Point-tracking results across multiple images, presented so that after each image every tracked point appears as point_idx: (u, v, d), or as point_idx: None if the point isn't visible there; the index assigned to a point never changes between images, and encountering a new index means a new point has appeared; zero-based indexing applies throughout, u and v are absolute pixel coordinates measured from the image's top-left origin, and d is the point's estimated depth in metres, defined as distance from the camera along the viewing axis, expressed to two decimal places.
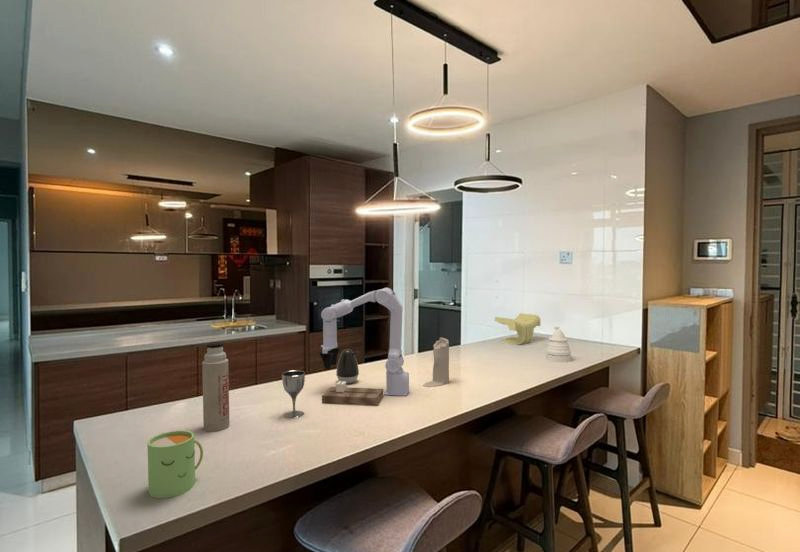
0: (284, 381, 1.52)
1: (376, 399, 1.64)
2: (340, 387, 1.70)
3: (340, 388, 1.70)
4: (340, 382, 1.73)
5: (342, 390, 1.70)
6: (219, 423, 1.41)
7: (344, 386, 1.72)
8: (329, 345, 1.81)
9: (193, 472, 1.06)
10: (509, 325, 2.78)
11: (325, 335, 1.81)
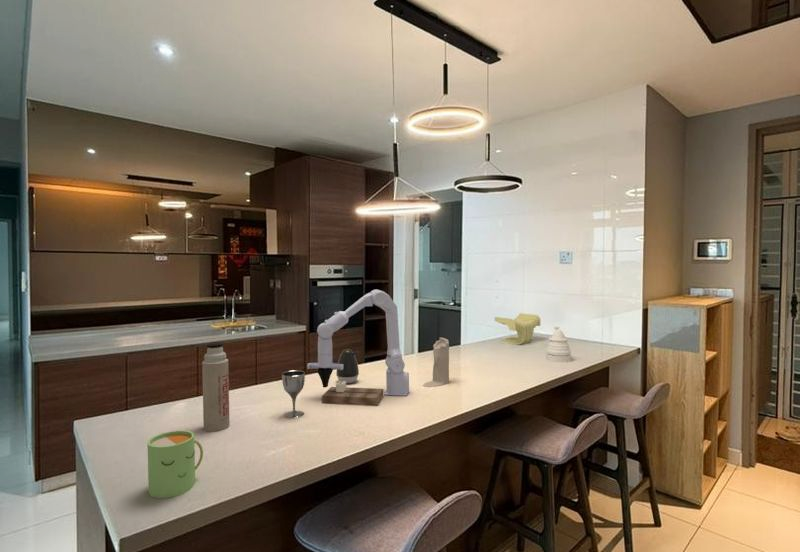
0: (284, 381, 1.52)
1: (376, 399, 1.64)
2: (340, 387, 1.70)
3: (340, 388, 1.70)
4: (340, 382, 1.73)
5: (342, 390, 1.70)
6: (219, 423, 1.41)
7: (344, 386, 1.72)
8: (318, 362, 1.73)
9: (193, 472, 1.06)
10: (509, 325, 2.78)
11: (322, 353, 1.70)
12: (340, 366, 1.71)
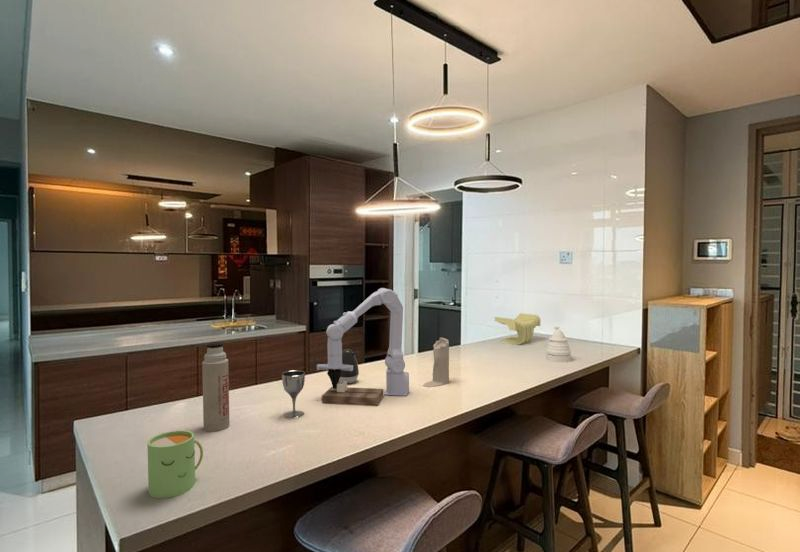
0: (284, 381, 1.52)
1: (376, 399, 1.64)
2: (340, 387, 1.70)
3: (341, 388, 1.70)
4: (341, 382, 1.73)
5: (343, 390, 1.70)
6: (219, 423, 1.41)
7: (345, 386, 1.72)
8: (327, 364, 1.72)
9: (193, 472, 1.06)
10: (509, 325, 2.78)
11: (332, 355, 1.70)
12: (350, 367, 1.71)
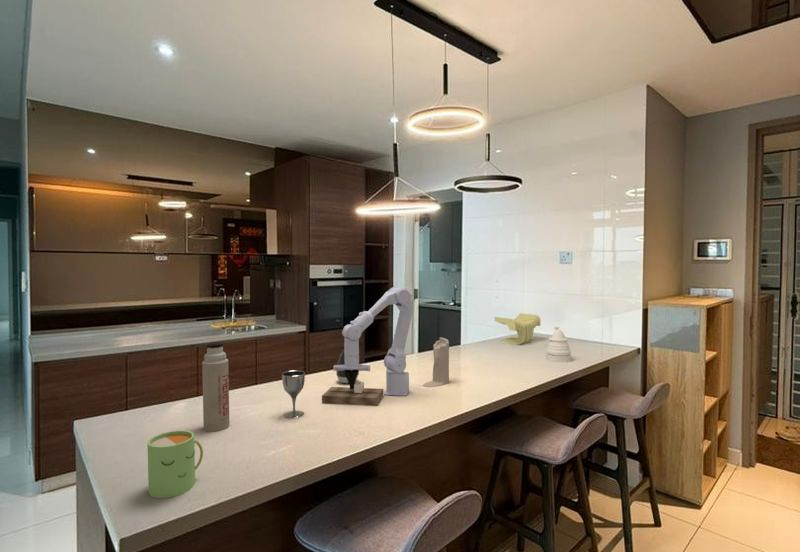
0: (284, 381, 1.52)
1: (376, 399, 1.64)
2: (358, 388, 1.69)
3: (358, 389, 1.69)
4: (358, 383, 1.72)
5: (360, 391, 1.69)
6: (219, 423, 1.41)
7: (362, 387, 1.71)
8: None
9: (193, 472, 1.06)
10: (509, 325, 2.78)
11: (351, 355, 1.68)
12: (368, 367, 1.70)
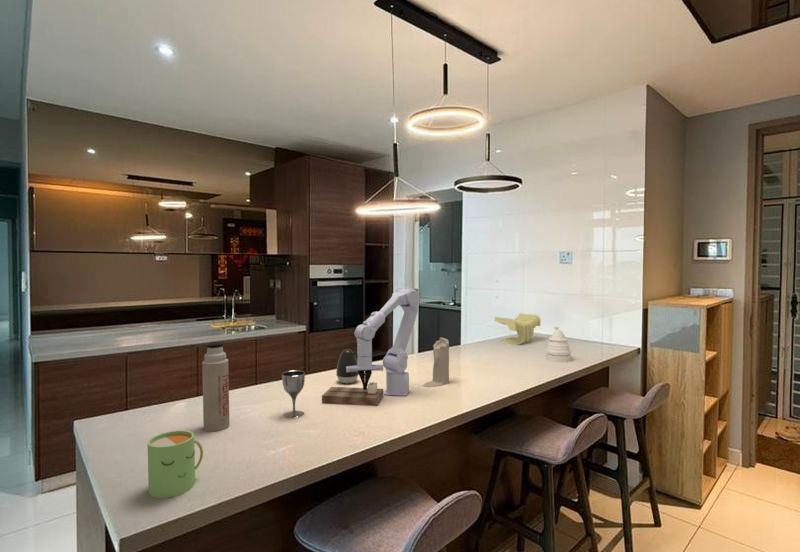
0: (284, 381, 1.52)
1: (376, 399, 1.64)
2: (371, 388, 1.68)
3: (372, 389, 1.68)
4: (371, 383, 1.71)
5: (374, 391, 1.68)
6: (219, 423, 1.41)
7: (376, 387, 1.70)
8: (357, 365, 1.70)
9: (193, 472, 1.06)
10: (509, 325, 2.78)
11: (365, 355, 1.68)
12: (381, 367, 1.71)
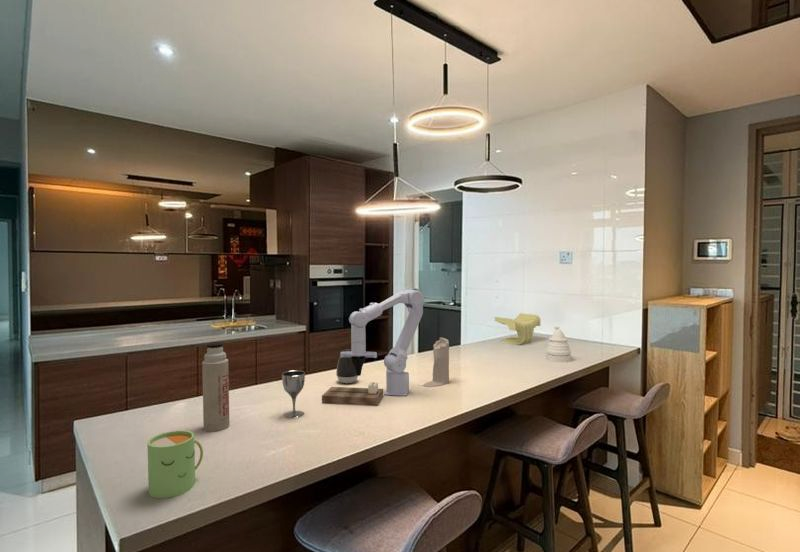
0: (284, 381, 1.52)
1: (376, 399, 1.64)
2: (372, 388, 1.68)
3: (373, 390, 1.68)
4: (372, 383, 1.71)
5: (374, 391, 1.68)
6: (219, 423, 1.41)
7: (376, 387, 1.70)
8: (351, 351, 1.72)
9: (193, 472, 1.06)
10: (509, 325, 2.78)
11: (357, 342, 1.70)
12: (374, 354, 1.71)
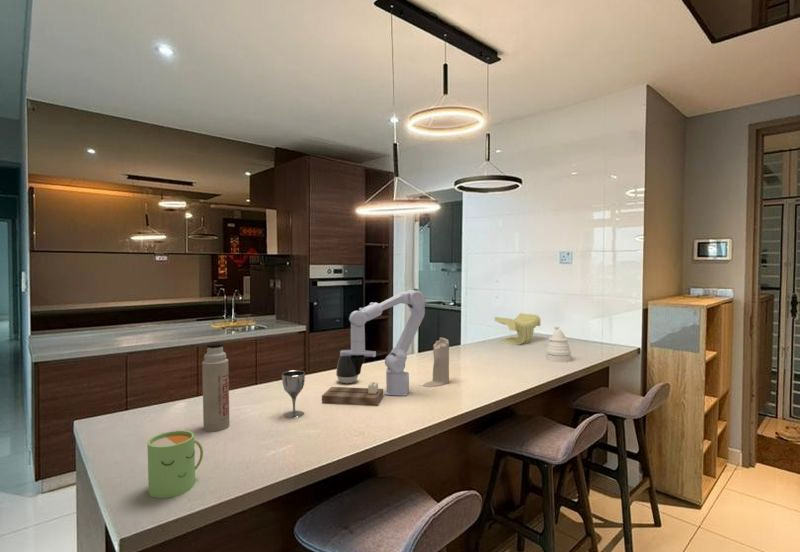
0: (284, 381, 1.52)
1: (376, 399, 1.64)
2: (372, 388, 1.68)
3: (373, 390, 1.68)
4: (372, 383, 1.71)
5: (374, 391, 1.68)
6: (219, 423, 1.41)
7: (376, 387, 1.70)
8: (350, 350, 1.75)
9: (193, 472, 1.06)
10: (509, 325, 2.78)
11: (356, 341, 1.72)
12: (373, 353, 1.73)
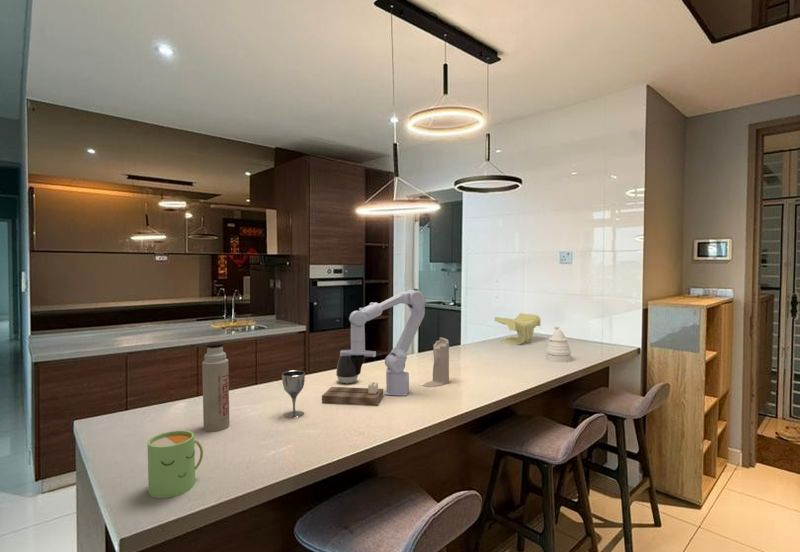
0: (284, 381, 1.52)
1: (376, 399, 1.64)
2: (372, 388, 1.68)
3: (373, 390, 1.68)
4: (372, 383, 1.71)
5: (374, 391, 1.68)
6: (219, 423, 1.41)
7: (376, 387, 1.70)
8: (350, 350, 1.75)
9: (193, 472, 1.06)
10: (509, 325, 2.78)
11: (356, 341, 1.72)
12: (373, 353, 1.73)
